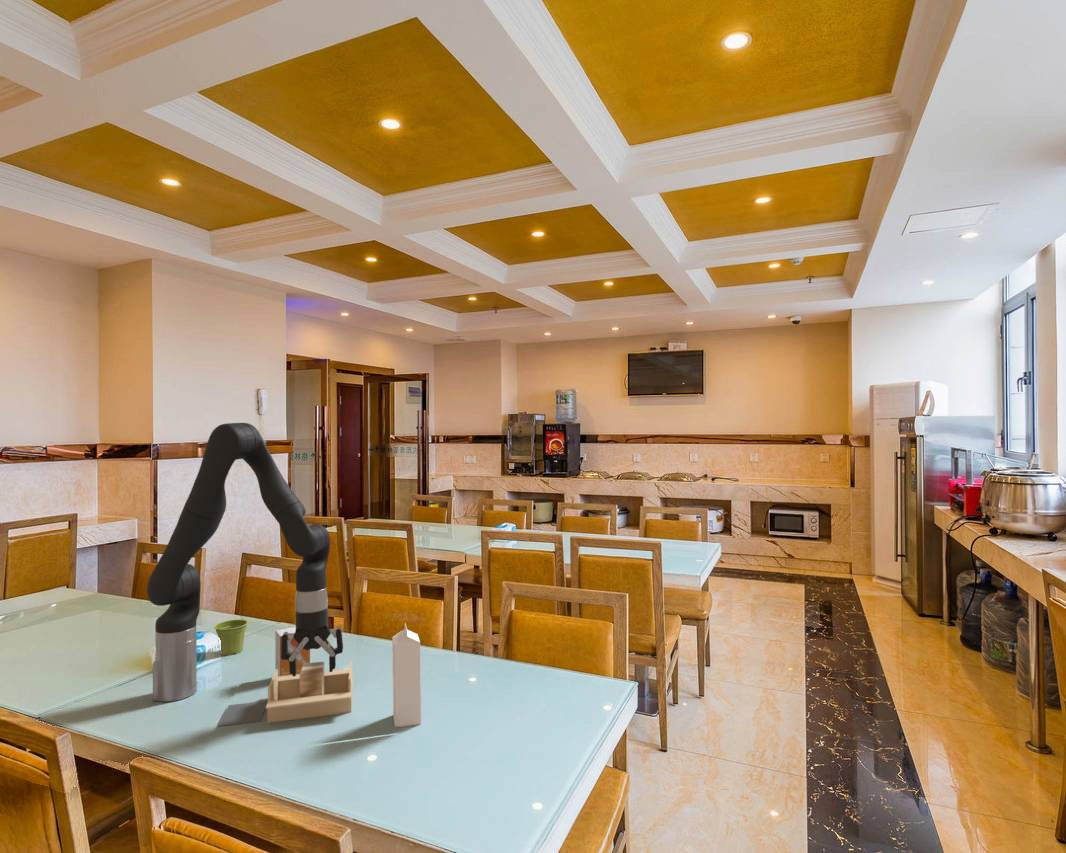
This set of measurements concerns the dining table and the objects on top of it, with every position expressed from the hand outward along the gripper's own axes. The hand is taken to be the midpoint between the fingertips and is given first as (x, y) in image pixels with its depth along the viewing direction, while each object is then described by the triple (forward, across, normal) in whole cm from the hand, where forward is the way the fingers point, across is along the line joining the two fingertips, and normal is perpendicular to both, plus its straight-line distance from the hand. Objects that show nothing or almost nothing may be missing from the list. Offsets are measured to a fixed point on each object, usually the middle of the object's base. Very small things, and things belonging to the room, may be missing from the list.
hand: (313, 673), depth 149 cm
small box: (+8, -7, +21) cm, 24 cm away
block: (+8, 0, 0) cm, 8 cm away
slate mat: (+8, -16, 0) cm, 18 cm away
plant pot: (+8, -28, +48) cm, 56 cm away
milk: (+9, +22, -14) cm, 27 cm away
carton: (+8, 0, 0) cm, 8 cm away
